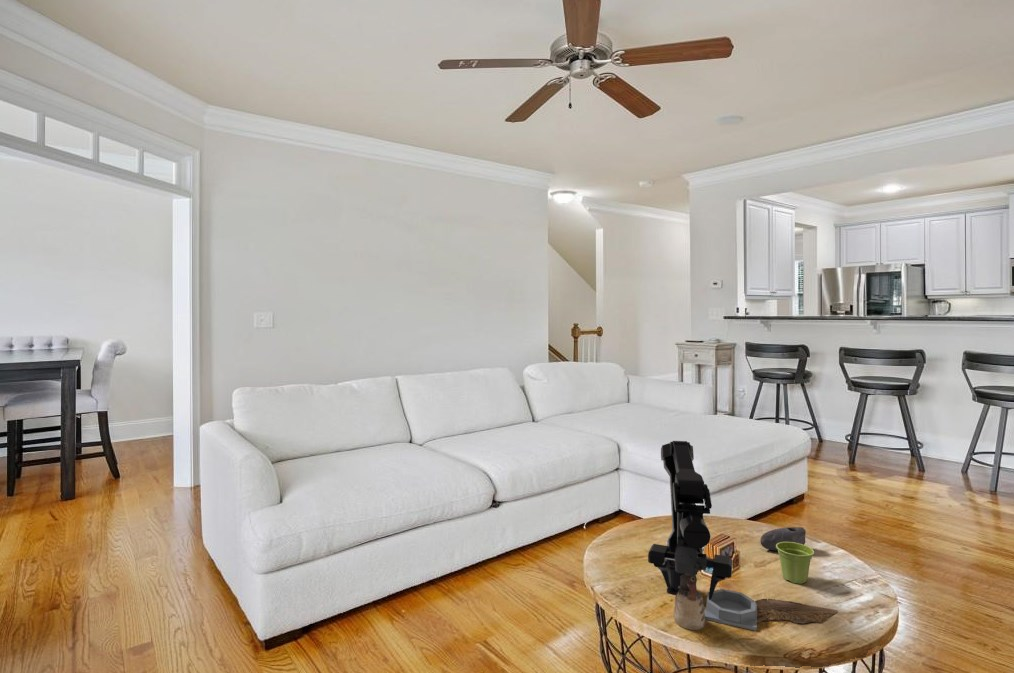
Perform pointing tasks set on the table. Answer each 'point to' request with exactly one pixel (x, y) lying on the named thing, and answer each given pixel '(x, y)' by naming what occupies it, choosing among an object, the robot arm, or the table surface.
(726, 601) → the tray
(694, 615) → the figurine
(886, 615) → the table surface
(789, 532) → the perforated stone tool
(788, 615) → the wooden fragment
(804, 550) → the plant pot
